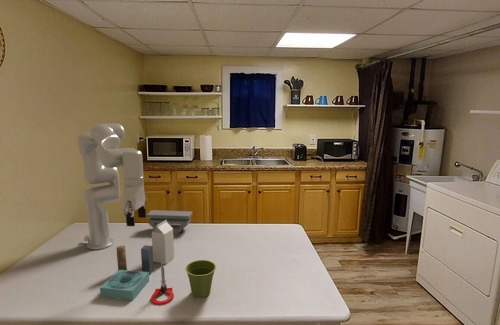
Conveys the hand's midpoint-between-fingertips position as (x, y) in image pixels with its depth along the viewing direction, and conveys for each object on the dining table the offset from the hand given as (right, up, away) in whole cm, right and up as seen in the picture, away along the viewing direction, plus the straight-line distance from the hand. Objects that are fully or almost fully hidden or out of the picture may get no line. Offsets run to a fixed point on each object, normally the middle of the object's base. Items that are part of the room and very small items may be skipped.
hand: (136, 221), depth 128 cm
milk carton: (+5, -23, +22) cm, 32 cm away
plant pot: (+27, -28, -5) cm, 39 cm away
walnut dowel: (-10, -25, +10) cm, 28 cm away
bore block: (-4, -27, -2) cm, 27 cm away
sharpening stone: (-1, -16, +56) cm, 59 cm away
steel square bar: (+1, -25, +10) cm, 27 cm away
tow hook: (+13, -28, -7) cm, 32 cm away
